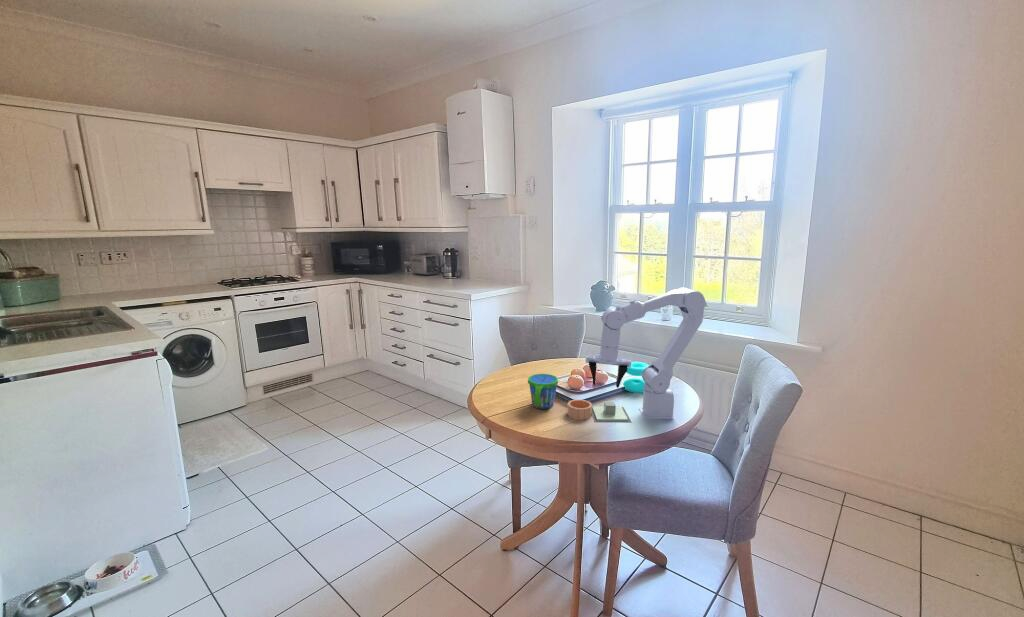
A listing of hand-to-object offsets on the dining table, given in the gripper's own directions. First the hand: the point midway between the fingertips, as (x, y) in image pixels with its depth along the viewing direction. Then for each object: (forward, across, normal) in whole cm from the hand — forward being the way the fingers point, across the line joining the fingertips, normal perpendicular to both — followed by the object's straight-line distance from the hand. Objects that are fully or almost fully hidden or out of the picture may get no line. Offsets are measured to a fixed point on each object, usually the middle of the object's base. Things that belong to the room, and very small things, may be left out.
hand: (605, 385), depth 144 cm
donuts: (+10, +14, +26) cm, 31 cm away
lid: (+10, +2, 0) cm, 10 cm away
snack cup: (+12, -20, +6) cm, 24 cm away
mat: (+10, +2, 0) cm, 11 cm away
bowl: (+11, -8, -1) cm, 14 cm away
